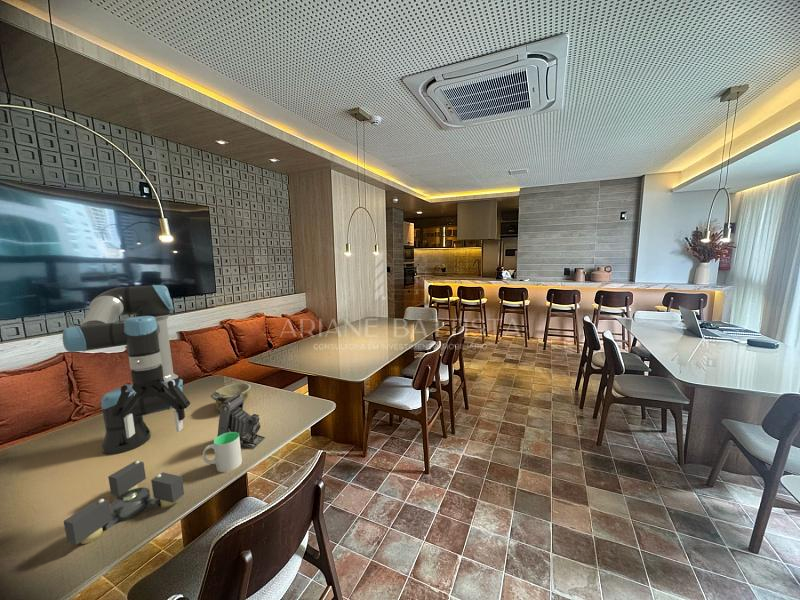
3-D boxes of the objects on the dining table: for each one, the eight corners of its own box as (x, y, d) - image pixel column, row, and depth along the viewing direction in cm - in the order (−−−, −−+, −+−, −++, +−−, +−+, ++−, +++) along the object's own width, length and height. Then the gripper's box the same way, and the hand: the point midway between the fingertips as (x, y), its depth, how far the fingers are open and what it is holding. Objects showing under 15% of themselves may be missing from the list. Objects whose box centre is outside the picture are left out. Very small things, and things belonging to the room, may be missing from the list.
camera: (250, 459, 123) (257, 413, 119) (213, 445, 125) (219, 400, 122) (267, 443, 133) (274, 400, 130) (232, 430, 136) (239, 388, 133)
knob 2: (172, 509, 94) (169, 483, 93) (153, 504, 96) (149, 479, 95) (186, 499, 98) (183, 473, 97) (167, 494, 100) (163, 469, 99)
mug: (202, 478, 107) (198, 449, 106) (206, 464, 115) (203, 437, 113) (241, 468, 112) (238, 441, 111) (242, 455, 119) (240, 429, 118)
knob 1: (67, 548, 82) (62, 518, 81) (103, 523, 90) (99, 495, 89) (78, 552, 81) (73, 522, 80) (114, 526, 88) (109, 498, 87)
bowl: (241, 396, 172) (239, 380, 171) (258, 404, 162) (257, 387, 161) (206, 409, 158) (204, 391, 157) (223, 419, 148) (221, 400, 147)
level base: (87, 523, 90) (84, 508, 89) (132, 493, 101) (130, 479, 101) (121, 534, 86) (118, 518, 85) (164, 501, 97) (162, 487, 97)
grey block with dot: (111, 499, 99) (106, 474, 98) (138, 482, 106) (134, 458, 105) (120, 502, 98) (116, 476, 96) (147, 484, 105) (144, 460, 104)
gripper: (89, 375, 89) (100, 445, 92) (186, 367, 94) (194, 433, 97) (108, 367, 97) (118, 431, 99) (197, 359, 101) (204, 421, 104)
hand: (155, 432), depth 98 cm, fingers open, 13 cm apart
